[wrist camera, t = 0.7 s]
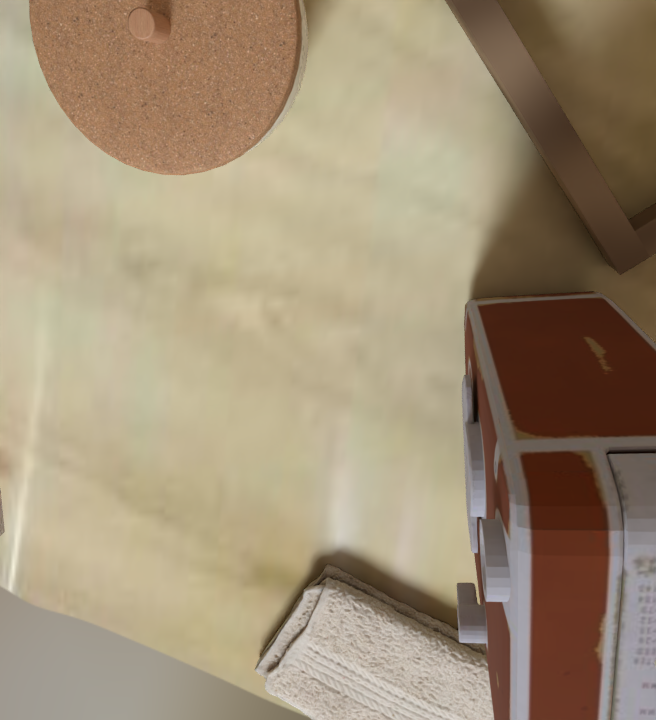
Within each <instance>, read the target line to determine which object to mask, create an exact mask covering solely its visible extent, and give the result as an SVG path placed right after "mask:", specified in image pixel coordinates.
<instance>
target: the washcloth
mask: <svg viewBox="0 0 656 720" xmlns="http://www.w3.org/2000/svg"><path fill="white" fill-rule="evenodd" d="M303 590H304V592H303V593H302V595H301V596H300V597H299V599H298V600H297V602H296V603H295V605H294V607H293V608H292V611H291V613H290V615H289V616H288V617H287V619H286V620H285V622H284V623H283V625H282V626H281V627H280V629H279V630H278V631H277V633H276V634H275V636H274V638H273V639H272V640H271V642H270V643H269V644H268V646H267V647H266V649H265V650H264V652H263V653H262V655H261V657H260V659H259V660H258V662H257V666H256V668H255V671H256V672H258V673H259V674H260V675H261V676H264V677H265V679H266V683H265V689H266V691H267V692H268V693H270V694H271V695H274V696H277V697H279V698H280V699H281V700H283V701H285V702H287V703H289V704H290V705H292V706H293V707H295V708H297V709H299V710H301V711H302V712H303V713H304V714H306V715H307V716H309V717H310V718H311V719H312V720H494V714H493V705H492V697H491V689H490V680H489V672H488V663H487V655H486V647H485V644H483V643H460V642H459V633H458V630H455V629H454V628H453V627H451V626H450V625H449V624H445V623H444V622H440V621H439V620H437V619H432V618H431V617H430V616H428V615H426V614H424V613H421V612H417V611H416V610H415V609H414V608H411V607H410V606H408V605H407V604H405V603H401V602H398V601H396V600H395V599H393V598H390V597H388V596H387V595H386V594H385V593H384V592H380V591H378V590H377V589H375V588H374V587H372V586H370V585H368V584H365V583H364V582H361V581H360V580H359V579H357V578H354V577H353V576H352V575H350V574H348V573H346V572H344V571H342V570H341V569H339V568H338V567H335V566H332V565H330V564H327V565H326V567H325V569H324V571H323V572H322V574H321V575H320V577H318V578H317V579H316V580H315V581H313V582H311V583H310V584H309V585H308V586H307V588H306V589H303Z"/></svg>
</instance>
